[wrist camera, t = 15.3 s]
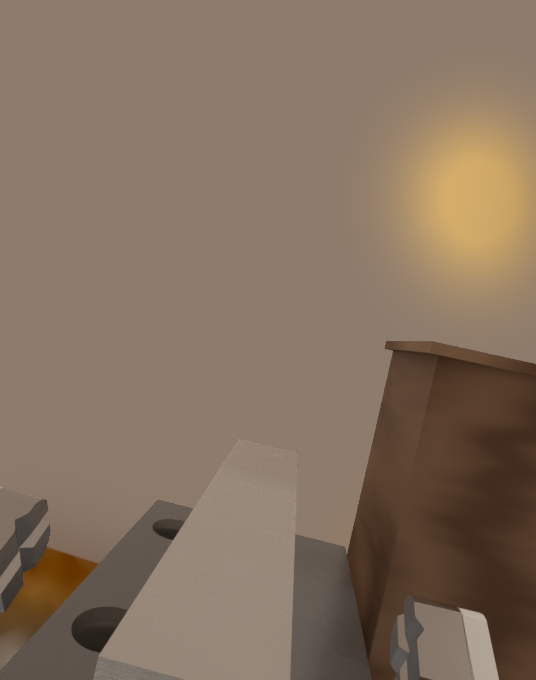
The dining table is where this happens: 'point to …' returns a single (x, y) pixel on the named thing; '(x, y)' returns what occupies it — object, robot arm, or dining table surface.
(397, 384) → the tall wooden cabinet
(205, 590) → the grey rectangular block
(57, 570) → the dining table surface
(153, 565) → the riser block
